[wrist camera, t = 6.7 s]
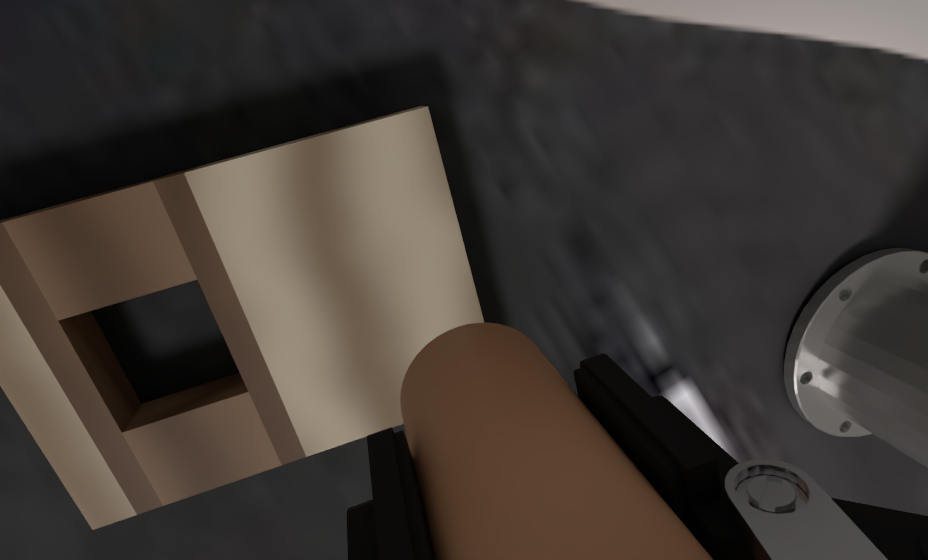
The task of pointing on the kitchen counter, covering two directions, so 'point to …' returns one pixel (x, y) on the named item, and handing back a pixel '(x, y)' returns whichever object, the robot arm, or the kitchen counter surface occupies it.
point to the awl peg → (524, 460)
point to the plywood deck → (235, 309)
